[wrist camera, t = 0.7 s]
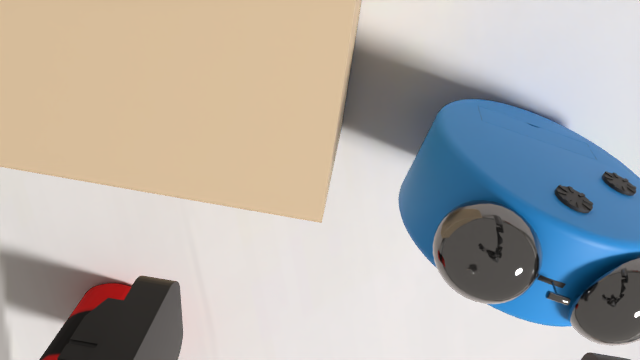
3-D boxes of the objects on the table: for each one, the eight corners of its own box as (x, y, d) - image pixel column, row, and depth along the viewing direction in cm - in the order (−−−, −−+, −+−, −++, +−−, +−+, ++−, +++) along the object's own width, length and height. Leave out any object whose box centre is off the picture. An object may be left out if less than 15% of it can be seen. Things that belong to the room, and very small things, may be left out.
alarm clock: (396, 149, 37) (393, 307, 25) (434, 69, 34) (454, 204, 21) (569, 211, 38) (653, 394, 25) (623, 139, 35) (750, 308, 22)
